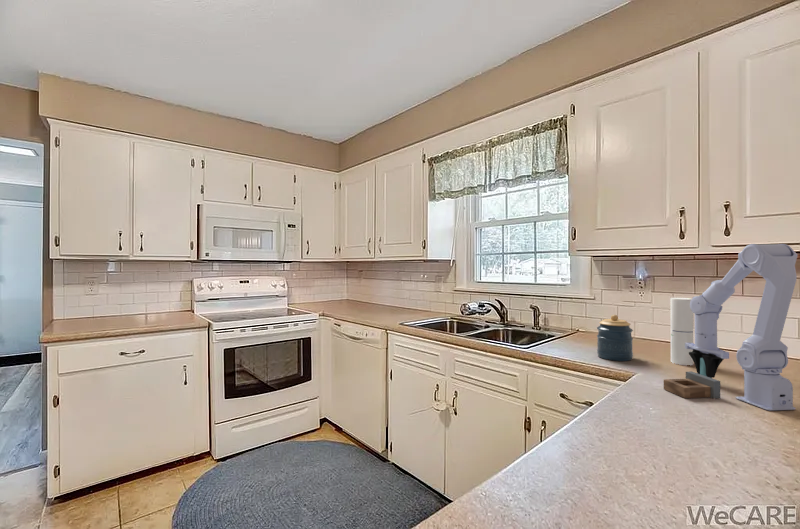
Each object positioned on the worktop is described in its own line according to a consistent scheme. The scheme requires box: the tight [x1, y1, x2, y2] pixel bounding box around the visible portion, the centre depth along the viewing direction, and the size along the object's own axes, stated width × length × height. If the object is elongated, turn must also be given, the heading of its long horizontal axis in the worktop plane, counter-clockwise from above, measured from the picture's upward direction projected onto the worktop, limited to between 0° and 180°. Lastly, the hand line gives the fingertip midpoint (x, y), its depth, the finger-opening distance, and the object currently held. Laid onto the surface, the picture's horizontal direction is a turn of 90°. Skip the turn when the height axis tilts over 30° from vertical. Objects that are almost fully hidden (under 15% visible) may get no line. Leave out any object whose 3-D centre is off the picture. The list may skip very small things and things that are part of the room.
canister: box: [596, 314, 634, 362], centre depth 160 cm, size 13×13×18 cm
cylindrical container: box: [669, 297, 694, 366], centre depth 150 cm, size 7×7×25 cm
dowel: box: [700, 357, 706, 376], centre depth 125 cm, size 3×3×8 cm
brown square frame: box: [663, 378, 711, 399], centre depth 116 cm, size 8×8×3 cm
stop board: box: [685, 371, 721, 399], centre depth 116 cm, size 10×2×5 cm, turn 4°
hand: (705, 375), depth 125 cm, fingers closed on dowel, 3 cm apart
